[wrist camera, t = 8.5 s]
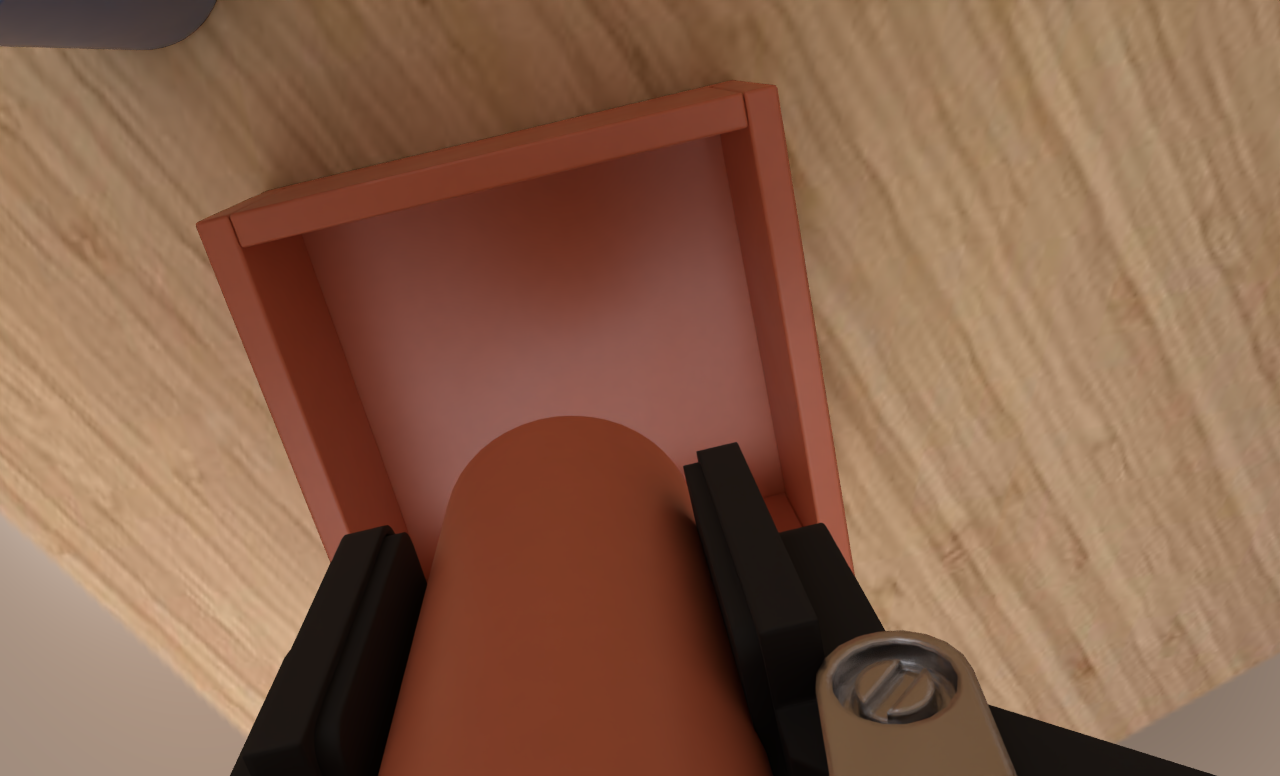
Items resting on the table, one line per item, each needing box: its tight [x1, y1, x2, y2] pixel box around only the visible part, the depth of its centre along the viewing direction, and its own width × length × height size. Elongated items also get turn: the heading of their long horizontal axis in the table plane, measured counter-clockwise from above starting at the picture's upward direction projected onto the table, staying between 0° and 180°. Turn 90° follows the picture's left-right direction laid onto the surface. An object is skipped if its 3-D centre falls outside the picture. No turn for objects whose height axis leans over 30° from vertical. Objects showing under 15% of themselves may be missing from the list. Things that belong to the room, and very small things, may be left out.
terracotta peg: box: [378, 416, 773, 776], centre depth 10 cm, size 4×4×7 cm
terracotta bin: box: [196, 80, 855, 583], centre depth 19 cm, size 10×10×4 cm
